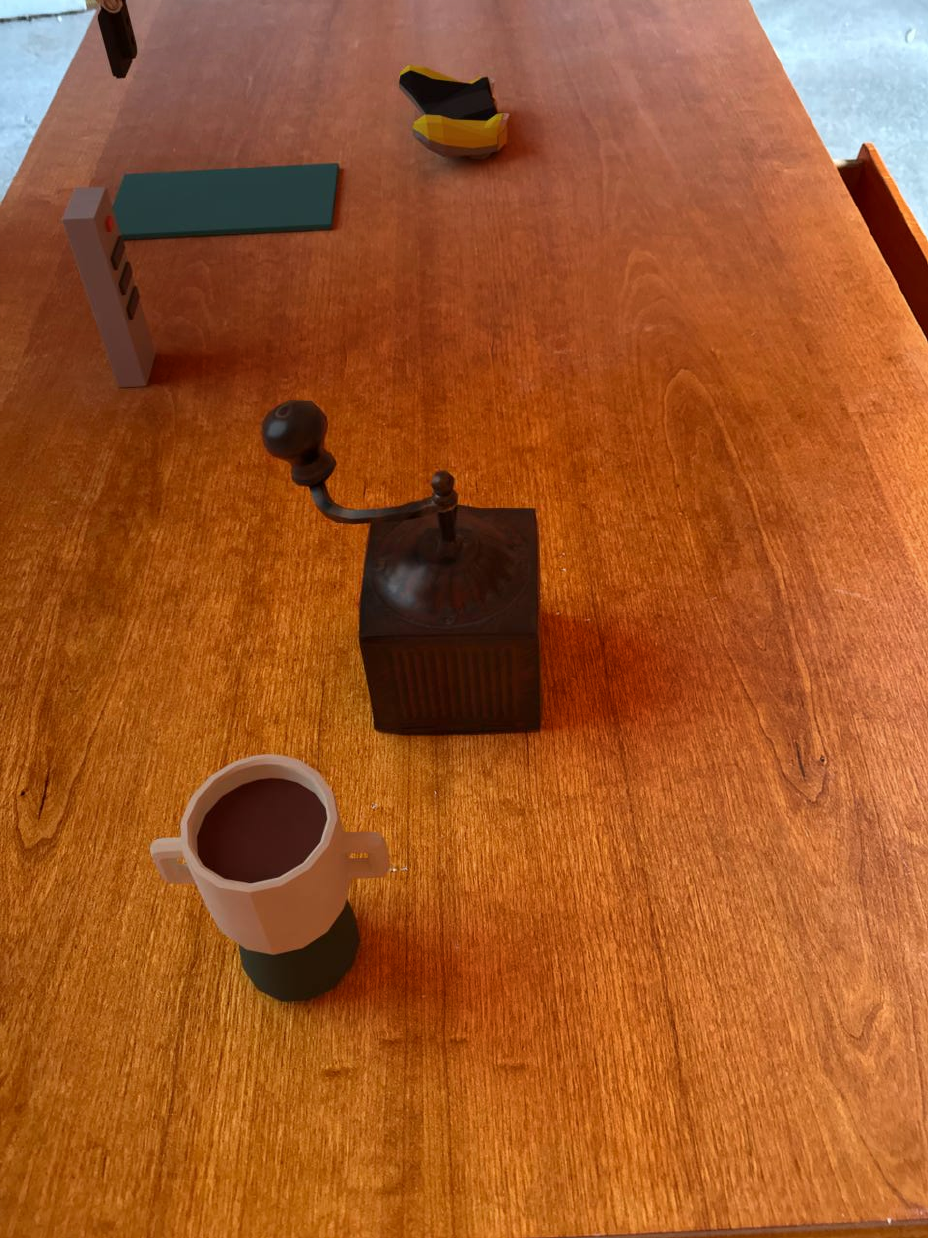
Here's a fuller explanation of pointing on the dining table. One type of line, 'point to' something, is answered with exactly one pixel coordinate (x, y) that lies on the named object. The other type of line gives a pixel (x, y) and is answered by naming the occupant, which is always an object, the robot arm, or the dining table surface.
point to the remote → (109, 284)
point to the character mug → (275, 871)
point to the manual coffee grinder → (434, 597)
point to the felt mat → (226, 201)
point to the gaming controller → (454, 113)
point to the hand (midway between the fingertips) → (51, 73)
